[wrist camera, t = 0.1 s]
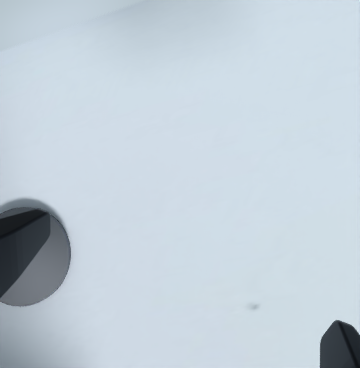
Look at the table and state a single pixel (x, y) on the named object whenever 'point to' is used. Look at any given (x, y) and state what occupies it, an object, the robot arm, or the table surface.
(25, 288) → the coaster
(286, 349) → the table surface
